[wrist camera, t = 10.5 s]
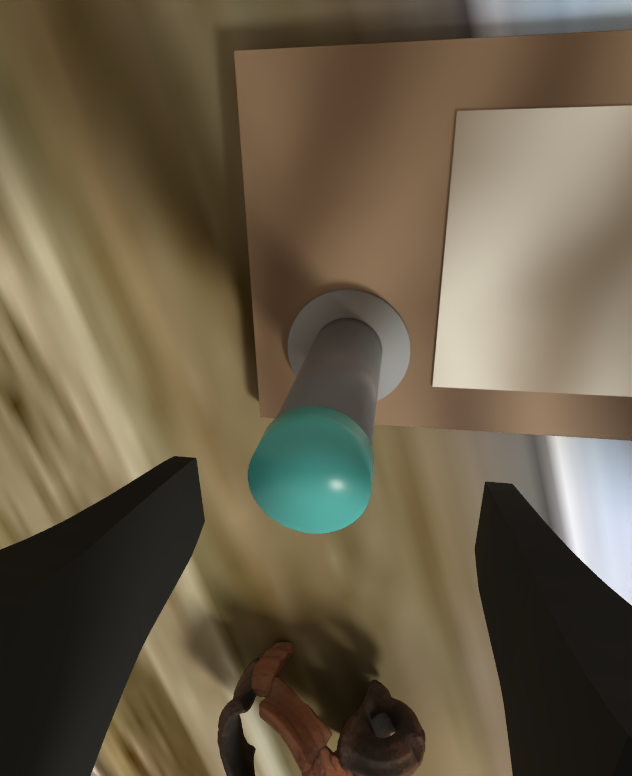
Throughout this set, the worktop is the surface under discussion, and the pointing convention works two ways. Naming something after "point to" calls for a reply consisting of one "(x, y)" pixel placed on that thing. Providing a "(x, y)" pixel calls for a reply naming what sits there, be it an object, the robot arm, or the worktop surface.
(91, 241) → the worktop surface
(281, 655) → the reddish-brown lumpy part
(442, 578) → the worktop surface
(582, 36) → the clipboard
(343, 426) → the marker
